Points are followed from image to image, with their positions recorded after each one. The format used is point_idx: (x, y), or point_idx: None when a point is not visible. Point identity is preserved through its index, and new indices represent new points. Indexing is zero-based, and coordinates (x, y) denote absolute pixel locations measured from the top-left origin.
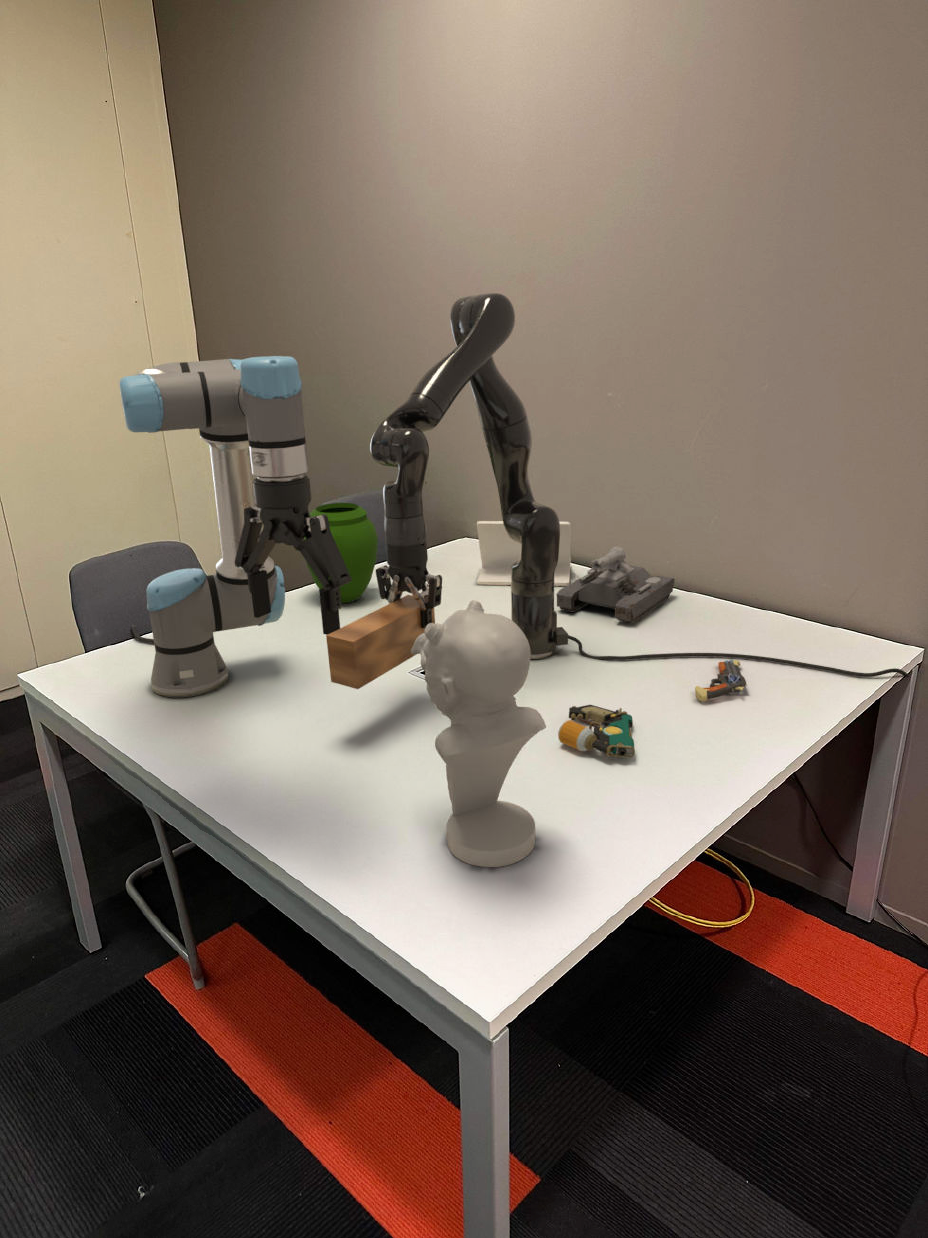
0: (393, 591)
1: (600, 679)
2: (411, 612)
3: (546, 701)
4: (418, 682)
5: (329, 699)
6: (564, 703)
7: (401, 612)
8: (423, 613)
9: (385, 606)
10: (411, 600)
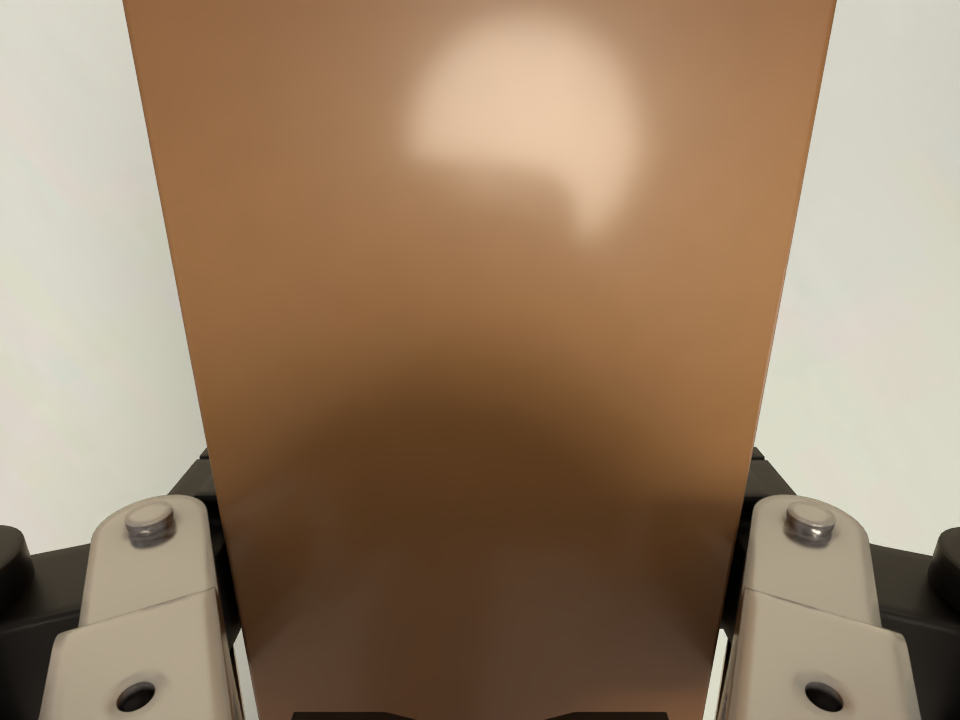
0: (785, 646)
1: None
2: (189, 313)
3: (69, 498)
4: None
5: (880, 51)
6: (11, 514)
7: (288, 187)
8: (211, 480)
9: (756, 300)
10: (511, 657)
